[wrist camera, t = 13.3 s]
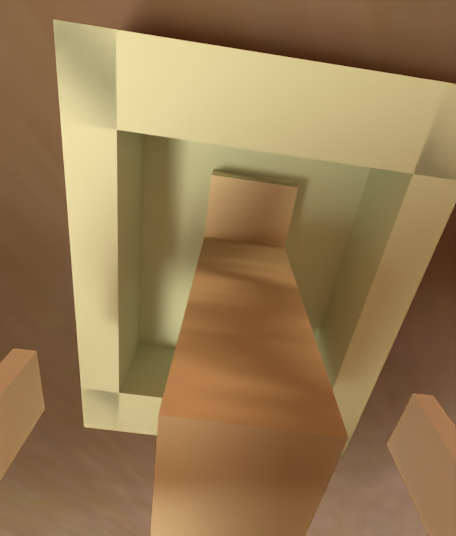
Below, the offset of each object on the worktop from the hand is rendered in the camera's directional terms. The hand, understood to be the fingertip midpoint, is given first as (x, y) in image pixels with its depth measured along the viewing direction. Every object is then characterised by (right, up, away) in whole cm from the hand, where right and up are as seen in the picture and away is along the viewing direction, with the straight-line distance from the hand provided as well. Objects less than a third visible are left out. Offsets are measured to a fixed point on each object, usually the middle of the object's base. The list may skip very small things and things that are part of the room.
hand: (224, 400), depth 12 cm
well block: (+1, +5, +8) cm, 9 cm away
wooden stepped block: (+1, +5, +7) cm, 8 cm away
